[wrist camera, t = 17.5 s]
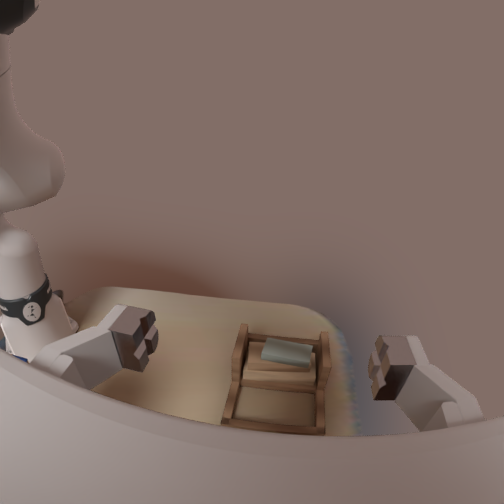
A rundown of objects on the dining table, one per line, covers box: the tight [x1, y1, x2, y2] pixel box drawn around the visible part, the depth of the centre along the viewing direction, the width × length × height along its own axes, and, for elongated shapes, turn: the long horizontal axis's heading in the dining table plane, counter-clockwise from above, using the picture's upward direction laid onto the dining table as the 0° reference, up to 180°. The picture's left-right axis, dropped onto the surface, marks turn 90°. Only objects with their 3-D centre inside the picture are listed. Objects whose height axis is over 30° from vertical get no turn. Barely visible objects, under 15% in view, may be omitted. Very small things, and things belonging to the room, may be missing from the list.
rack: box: [221, 324, 331, 436], centre depth 44 cm, size 18×15×7 cm
